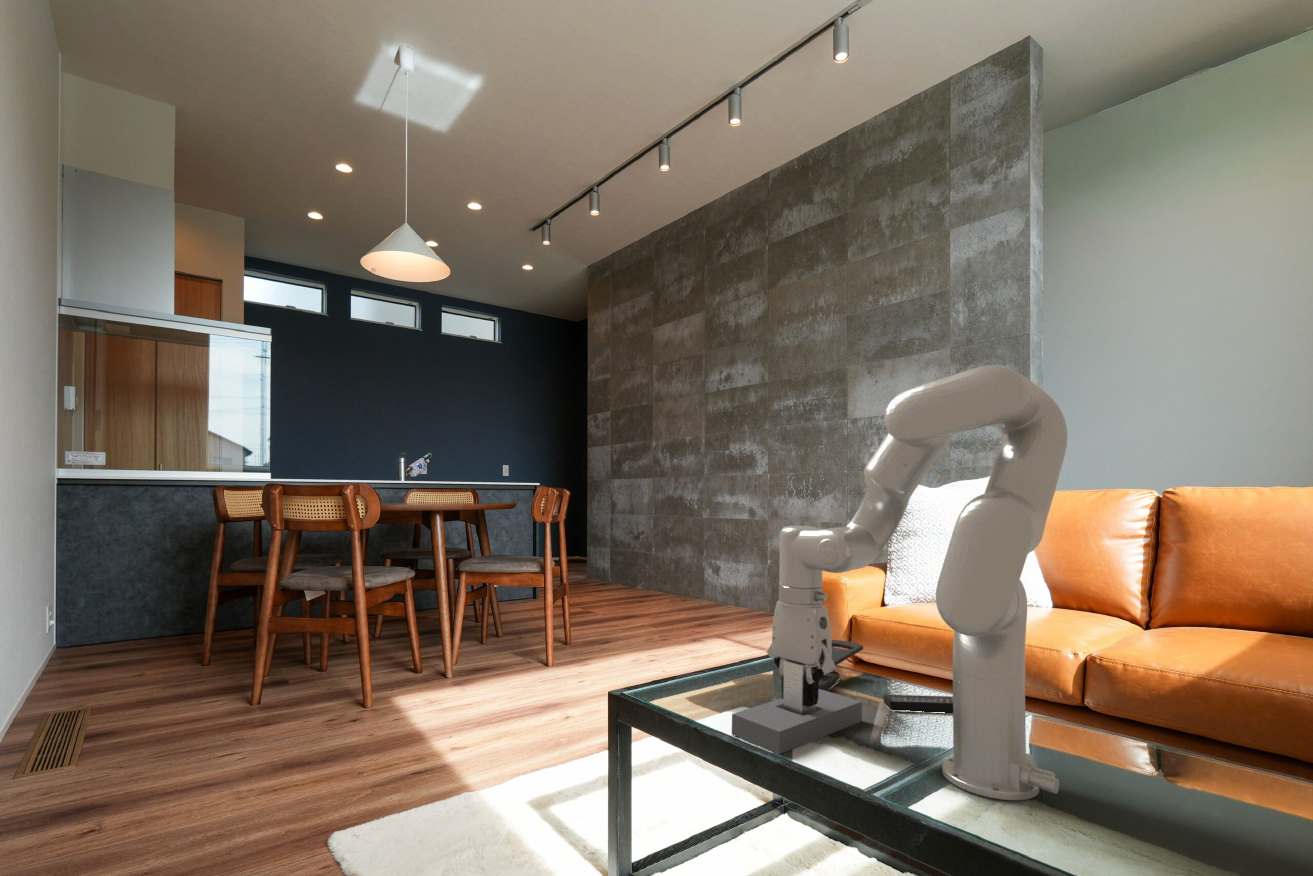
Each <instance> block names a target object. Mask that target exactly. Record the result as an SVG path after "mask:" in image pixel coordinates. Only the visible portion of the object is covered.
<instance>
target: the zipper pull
mask: <svg viewBox="0 0 1313 876" xmlns="http://www.w3.org/2000/svg"><path fill="white" fill-rule="evenodd" d="M831 643H832V660H833V662H834V664H835V666H836V667H837V665H839V664H841V663H842V662H844V661H845V660H847V659H849V658H851V657H853V656H854V655H857V654H859V652H861V651H862V650H864V645H863V644H859V643H856V642H852V641H848V640H846V641H845V640H840V639H831ZM821 667H823V662H820V668H821ZM840 676H841V674H840V672H838V671H836V670H834V671H832V672H830V673H828V674H826V675H825V676H824V677H823V678H822V680H821V681H819V682H818V689H821V690H824V691H828V690H829V689H830V688H831V687H832V686H833V685H834V684H835V683H836V681H837V680H838V679H839V678H840ZM830 690H831V689H830ZM830 690H829V691H830ZM829 691H828V692H829Z"/></svg>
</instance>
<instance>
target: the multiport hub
mask: <svg viewBox="0 0 1313 876" xmlns="http://www.w3.org/2000/svg"><path fill="white" fill-rule="evenodd" d="M884 703H885V704H886V705H887V706H888V707H889V708H890V709H892V710H910V711H922V712H923V711H924V712H945V713H953V695H952V696H950V695H949V696H948V695H946V696H945V695H913V694H912V695H911V694H909V695H908V694H884V695H883V704H884Z"/></svg>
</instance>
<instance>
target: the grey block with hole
mask: <svg viewBox="0 0 1313 876" xmlns="http://www.w3.org/2000/svg"><path fill="white" fill-rule="evenodd" d="M862 708H863V703H862V701H861V700H859V699H853V698H850V697H847V696H844V695H841V694H838V693H833V692H831V691H824V690H821V689H818V702H817V704H816V712H813V713H810V714H807V715H805V716H802V715H799V714H796V713H793V712H790V711H787V710H784V709H783V699H782V698H779V699H775V700H773V701H770V702H766V703H763V704H759V705H756V706H753V707H750V708H747V709H744V710H741V711H736V712H733V713H732V714H731V735H732V734H733V735H735V736H738V737H739V738H738V739H740V738H741V739H740V740H742V739H743V740H742V741H745V742H747V741H748V742H747V743H749V744H752V745H754V744H755V746H757V747H759V746H760V748H762V749H764V748H765V750H767V751H769V750H770V751H769V752H771V753H774V754H776V753H777V755H781V754H784V753H787V752H788V751H791V750H793V749H796V748H799V747H802V746H803V745H806V744H808V743H809V744H810V743H812V742H813V741H817V740H819V739H821V738H823V737H826V736H829V735H831V734H834V733H836V732H838V731H842V730H844V729H847V728H849V727H851V726H855V725H857V724H859V723H861V722H862V721H863V720H862V719H863V715H862V713H863V711H862V710H863V709H862ZM735 736H734V737H735Z"/></svg>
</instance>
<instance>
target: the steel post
mask: <svg viewBox="0 0 1313 876" xmlns="http://www.w3.org/2000/svg"><path fill="white" fill-rule="evenodd" d="M813 673H814V672H813ZM806 682H807V678H806V671H805V664H802V663H798V662H794V661H790V660H785V661H784V690H783V709H784V710H787V711H790V712H793V713H796V714H799V715H802V716H805V715H807V714H810V713H813V712H816V704H815V705H813V706H810V707H806V706H804V683H806Z"/></svg>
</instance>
